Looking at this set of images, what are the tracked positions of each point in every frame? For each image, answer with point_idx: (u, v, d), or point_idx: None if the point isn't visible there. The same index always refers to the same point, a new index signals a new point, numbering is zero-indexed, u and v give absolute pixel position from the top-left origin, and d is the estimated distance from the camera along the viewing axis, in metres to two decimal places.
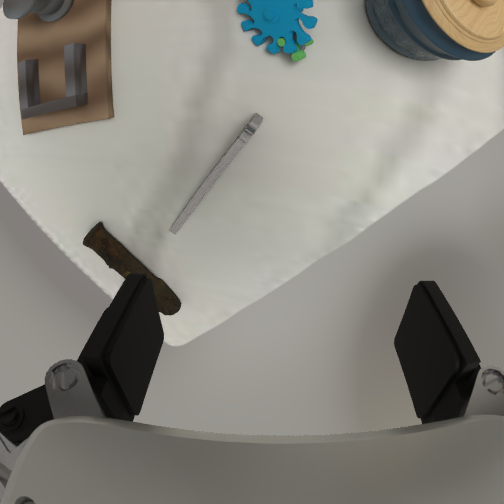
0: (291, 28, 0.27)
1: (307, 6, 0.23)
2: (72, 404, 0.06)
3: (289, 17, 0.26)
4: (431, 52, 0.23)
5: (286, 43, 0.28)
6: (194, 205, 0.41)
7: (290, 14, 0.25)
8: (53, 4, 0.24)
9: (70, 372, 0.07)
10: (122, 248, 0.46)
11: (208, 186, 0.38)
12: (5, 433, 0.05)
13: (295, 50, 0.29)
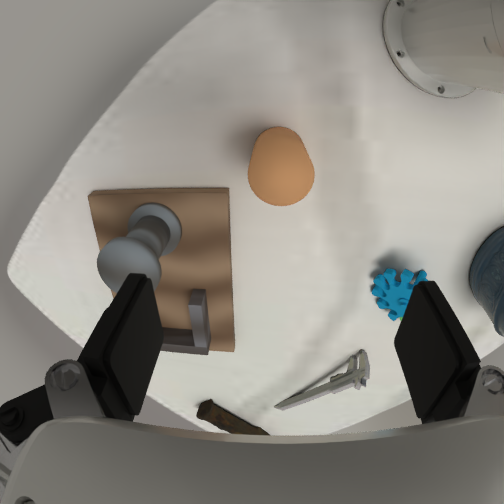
0: None
1: None
2: (72, 404, 0.06)
3: None
4: None
5: None
6: (302, 403, 0.48)
7: None
8: None
9: (70, 372, 0.07)
10: (231, 416, 0.54)
11: (317, 397, 0.46)
12: (5, 433, 0.05)
13: None
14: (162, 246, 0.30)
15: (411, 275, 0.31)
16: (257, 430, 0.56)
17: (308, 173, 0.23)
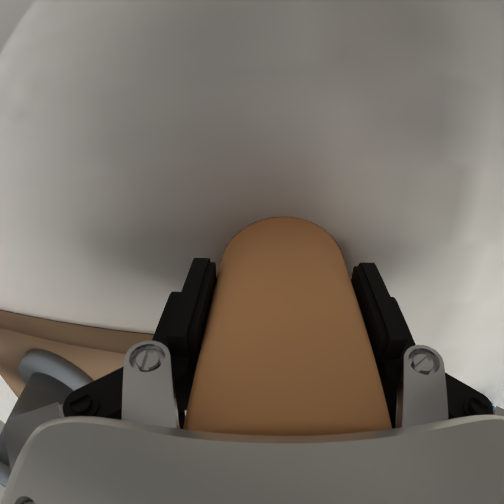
0: None
1: None
2: (146, 387, 0.07)
3: None
4: None
5: None
6: None
7: None
8: None
9: (154, 355, 0.07)
10: None
11: None
12: None
13: None
14: None
15: None
16: None
17: None
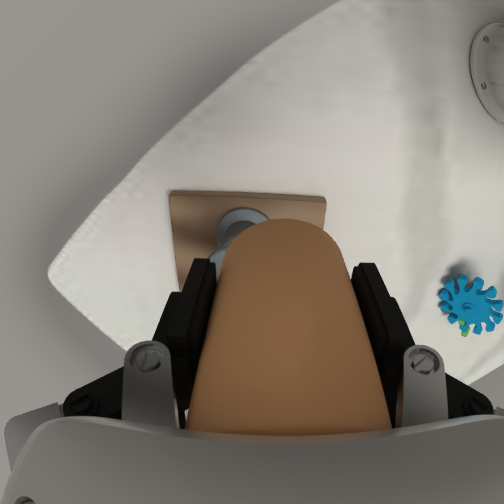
0: (475, 323, 0.34)
1: (497, 323, 0.31)
2: (146, 387, 0.07)
3: (480, 318, 0.33)
4: None
5: (464, 325, 0.36)
6: None
7: (482, 318, 0.33)
8: None
9: (154, 354, 0.07)
10: None
11: None
12: None
13: None
14: None
15: (482, 282, 0.31)
16: None
17: None
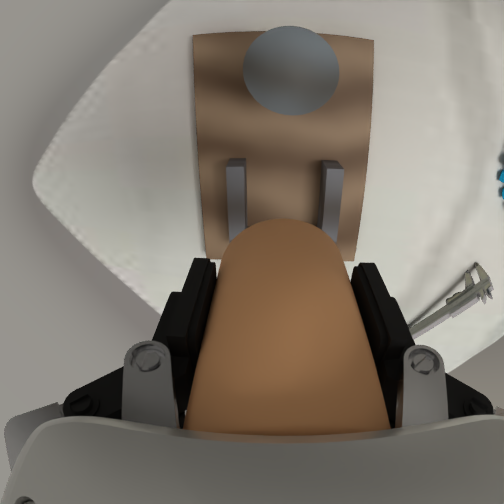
0: None
1: None
2: (146, 387, 0.07)
3: None
4: None
5: None
6: None
7: None
8: None
9: (154, 355, 0.07)
10: None
11: (432, 327, 0.37)
12: None
13: None
14: None
15: None
16: None
17: None
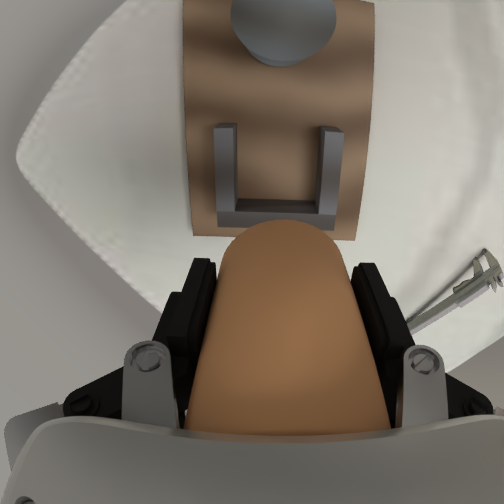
0: None
1: None
2: (146, 387, 0.07)
3: None
4: None
5: None
6: (415, 331, 0.36)
7: None
8: None
9: (155, 355, 0.07)
10: None
11: (438, 318, 0.34)
12: None
13: None
14: None
15: None
16: None
17: None
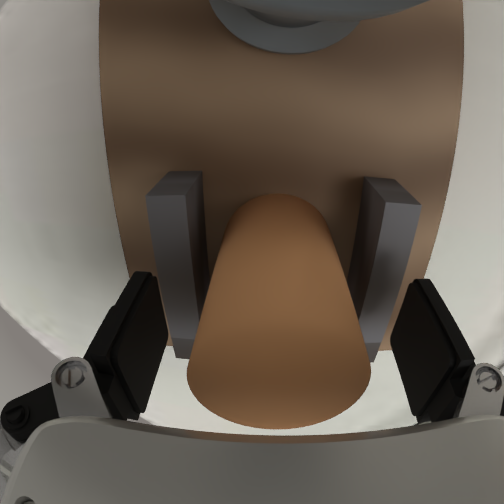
0: None
1: None
2: (78, 402, 0.06)
3: None
4: None
5: None
6: None
7: None
8: None
9: (77, 370, 0.07)
10: None
11: None
12: (11, 431, 0.05)
13: None
14: None
15: None
16: None
17: (353, 381, 0.08)
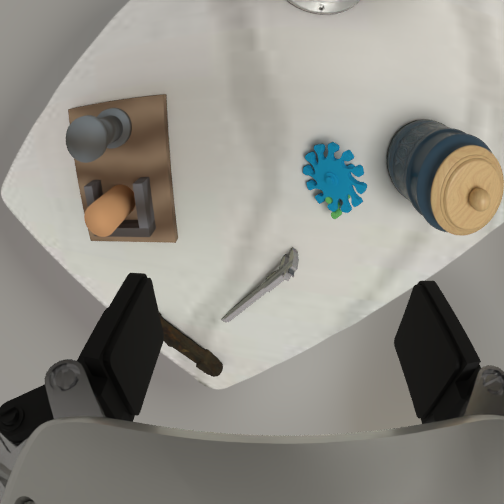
0: (341, 197, 0.41)
1: (361, 192, 0.38)
2: (72, 404, 0.06)
3: (343, 190, 0.40)
4: None
5: (332, 203, 0.43)
6: (243, 309, 0.56)
7: (345, 188, 0.40)
8: (114, 138, 0.39)
9: (70, 372, 0.07)
10: (178, 332, 0.61)
11: (256, 299, 0.54)
12: (5, 433, 0.05)
13: (336, 210, 0.44)
14: (114, 131, 0.37)
15: (337, 146, 0.38)
16: (206, 352, 0.64)
17: (111, 216, 0.39)
